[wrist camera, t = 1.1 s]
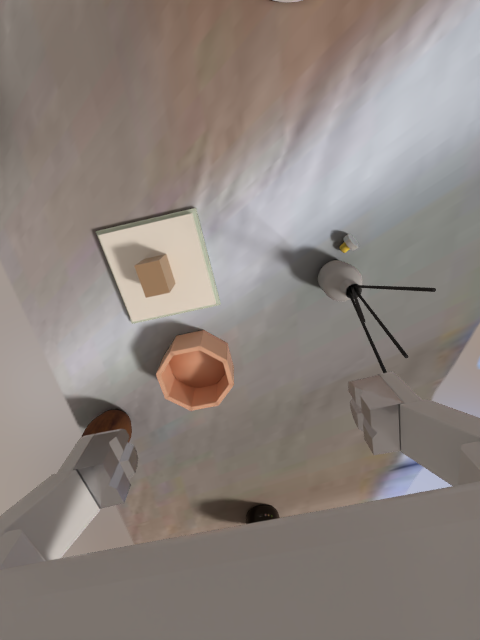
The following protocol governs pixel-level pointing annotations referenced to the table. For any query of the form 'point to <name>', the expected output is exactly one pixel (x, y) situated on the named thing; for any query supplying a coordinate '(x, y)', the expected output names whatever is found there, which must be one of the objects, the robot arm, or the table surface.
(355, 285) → the reed diffuser
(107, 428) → the wooden figurine
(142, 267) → the lid
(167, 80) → the table surface
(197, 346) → the bowl
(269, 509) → the supplement bottle
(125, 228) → the mat
